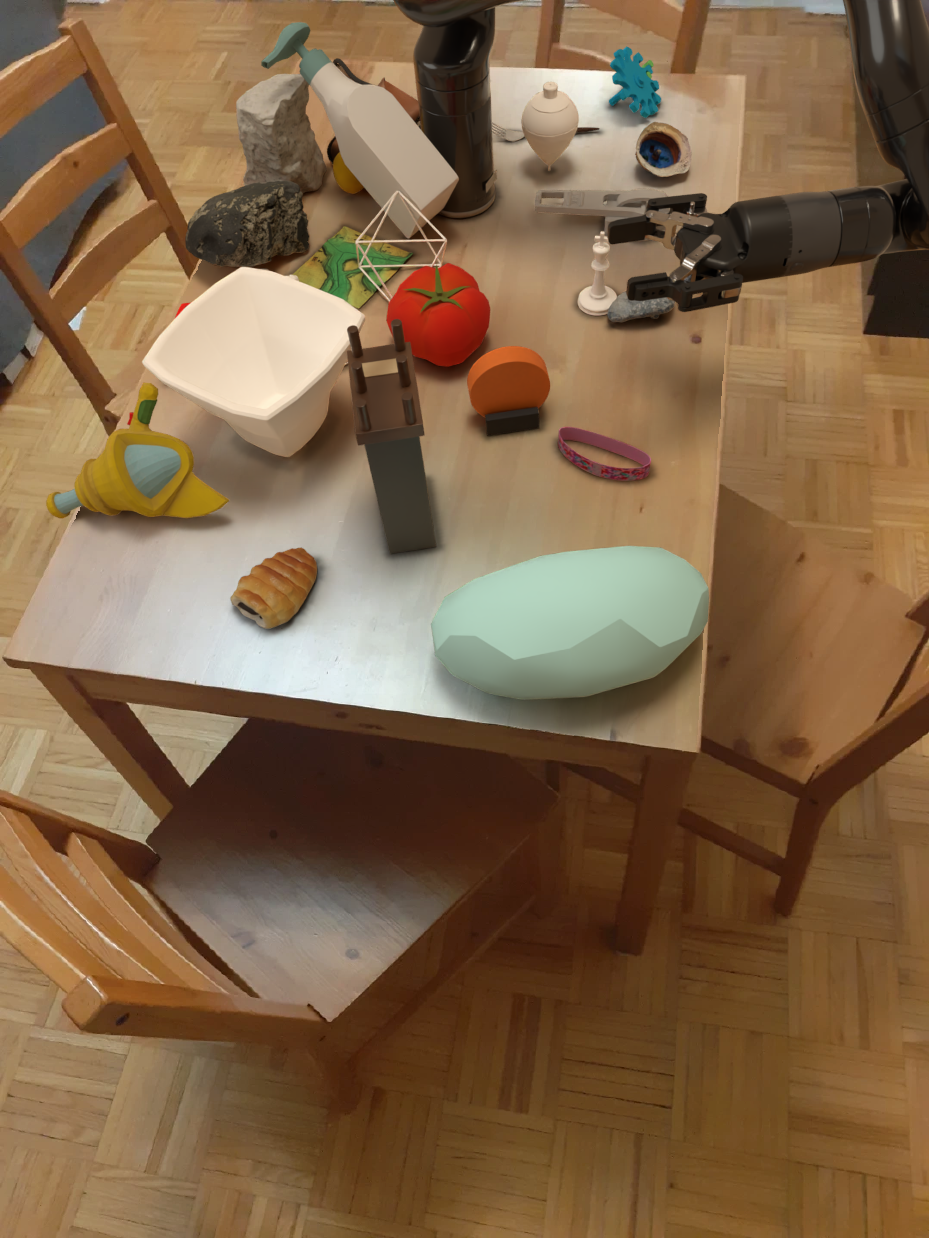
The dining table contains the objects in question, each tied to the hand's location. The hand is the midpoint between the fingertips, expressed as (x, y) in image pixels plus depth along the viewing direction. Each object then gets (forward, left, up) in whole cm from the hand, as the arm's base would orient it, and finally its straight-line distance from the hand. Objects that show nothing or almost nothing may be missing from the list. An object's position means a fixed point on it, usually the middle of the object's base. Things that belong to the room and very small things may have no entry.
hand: (617, 261), depth 91 cm
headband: (+7, -6, -19) cm, 21 cm away
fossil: (-10, +14, -18) cm, 25 cm away
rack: (-1, -27, -1) cm, 27 cm away
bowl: (-21, -31, -19) cm, 42 cm away
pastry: (-1, -44, -19) cm, 48 cm away
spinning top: (-38, +23, -19) cm, 49 cm away
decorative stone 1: (-58, -5, -20) cm, 61 cm away
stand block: (-1, -27, -19) cm, 33 cm away
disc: (-5, -10, -19) cm, 22 cm away
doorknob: (-49, -2, -15) cm, 52 cm away
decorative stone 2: (+24, -29, -21) cm, 43 cm away
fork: (-45, +28, -19) cm, 56 cm away
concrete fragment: (-54, -11, -13) cm, 57 cm away
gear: (-41, +42, -19) cm, 62 cm away
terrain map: (-40, -9, -19) cm, 45 cm away
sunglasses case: (-61, +10, -19) cm, 65 cm away
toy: (-28, -48, -9) cm, 56 cm away
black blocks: (-5, -10, -19) cm, 22 cm away
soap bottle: (-36, +1, -15) cm, 39 cm away
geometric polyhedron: (-32, 0, -19) cm, 37 cm away
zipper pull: (-25, +21, -19) cm, 38 cm away
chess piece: (-13, +10, -19) cm, 26 cm away
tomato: (-20, -9, -19) cm, 29 cm away
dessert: (-27, +35, -13) cm, 46 cm away
